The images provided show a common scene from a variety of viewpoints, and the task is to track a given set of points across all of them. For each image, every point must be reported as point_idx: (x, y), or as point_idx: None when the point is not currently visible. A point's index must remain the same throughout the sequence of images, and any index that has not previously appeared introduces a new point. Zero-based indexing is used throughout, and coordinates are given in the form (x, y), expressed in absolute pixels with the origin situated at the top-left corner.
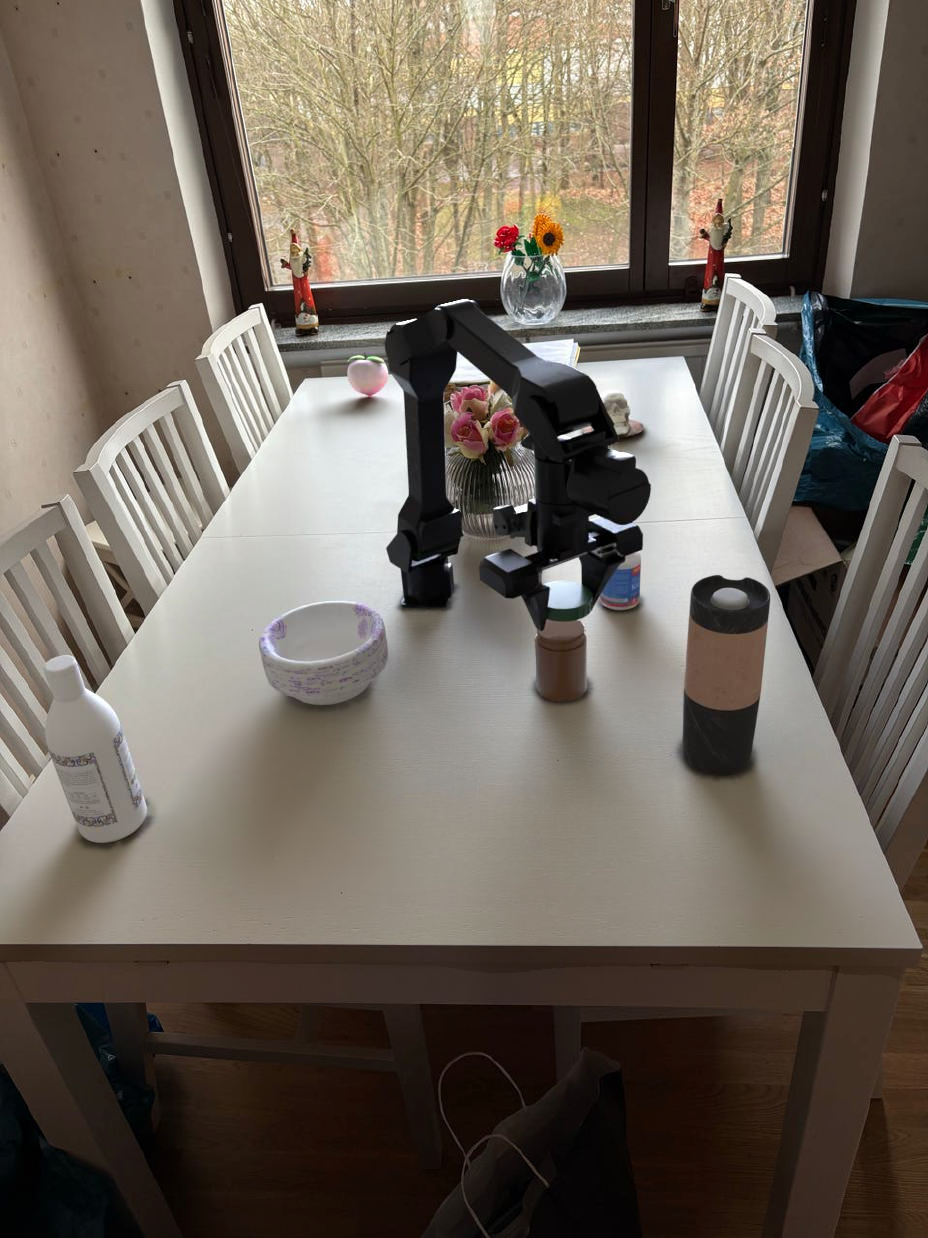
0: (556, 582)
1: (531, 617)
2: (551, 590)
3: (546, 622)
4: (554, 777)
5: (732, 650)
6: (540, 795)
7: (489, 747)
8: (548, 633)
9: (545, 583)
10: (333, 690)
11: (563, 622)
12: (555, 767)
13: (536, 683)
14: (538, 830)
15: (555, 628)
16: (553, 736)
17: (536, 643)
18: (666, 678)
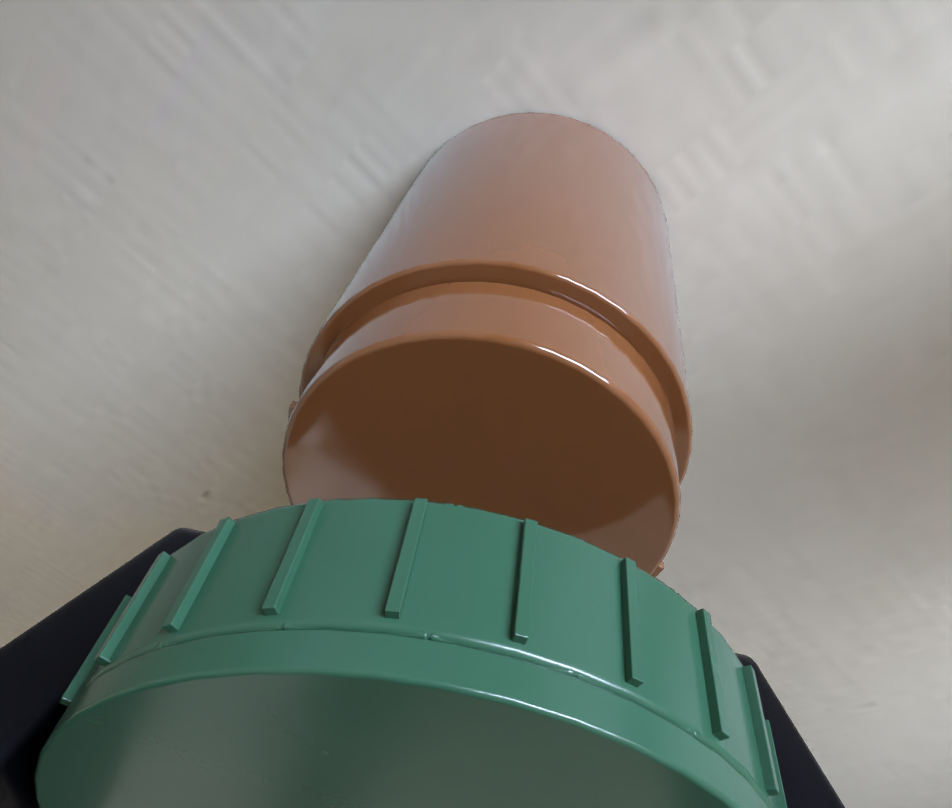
0: (604, 773)
1: (82, 597)
2: (362, 804)
3: (453, 381)
4: (155, 524)
5: None
6: (81, 533)
7: (20, 291)
8: (345, 483)
9: (446, 695)
10: None
11: (555, 484)
12: (181, 505)
13: (426, 165)
14: (21, 586)
15: (437, 485)
16: (267, 422)
17: (307, 355)
18: (883, 535)
